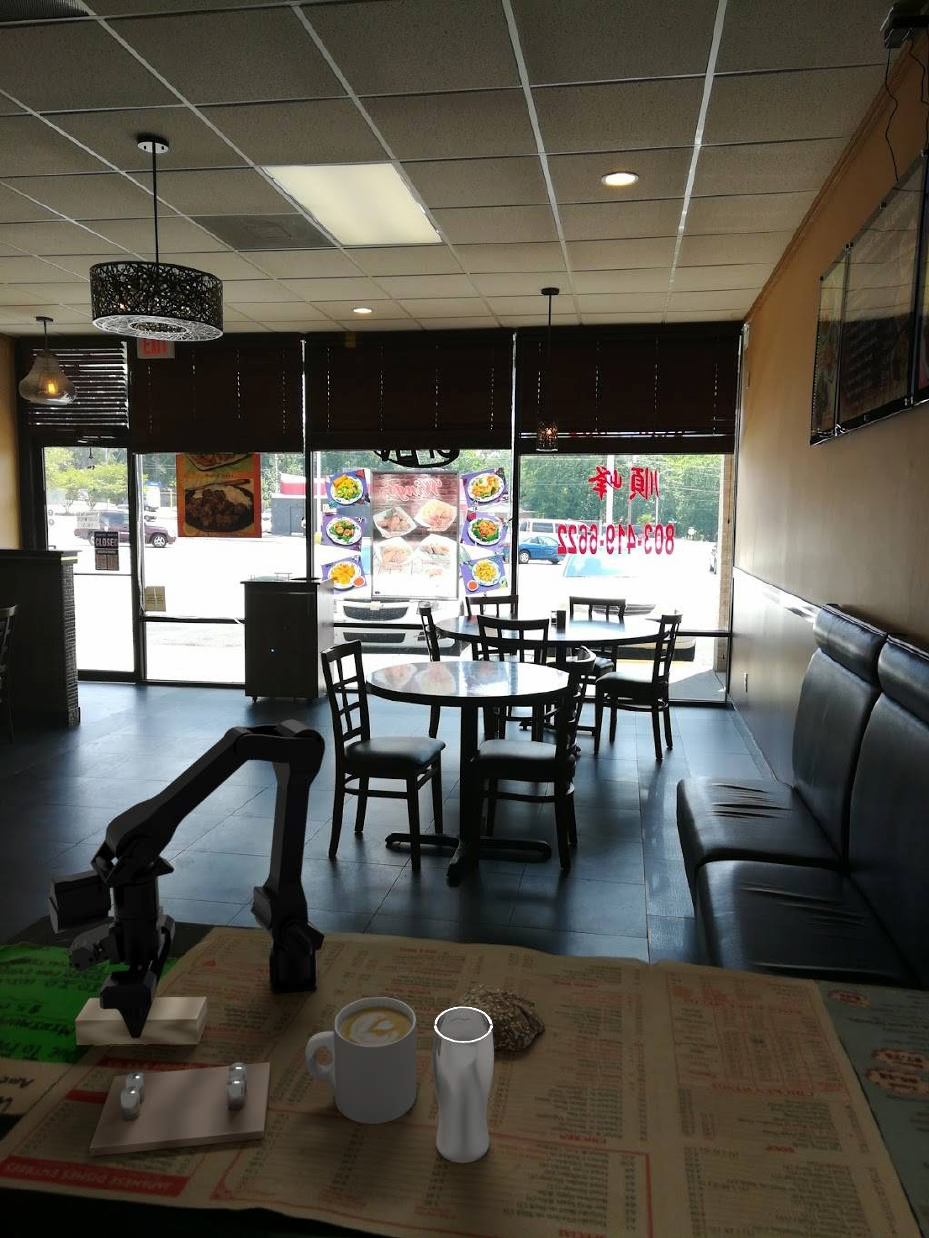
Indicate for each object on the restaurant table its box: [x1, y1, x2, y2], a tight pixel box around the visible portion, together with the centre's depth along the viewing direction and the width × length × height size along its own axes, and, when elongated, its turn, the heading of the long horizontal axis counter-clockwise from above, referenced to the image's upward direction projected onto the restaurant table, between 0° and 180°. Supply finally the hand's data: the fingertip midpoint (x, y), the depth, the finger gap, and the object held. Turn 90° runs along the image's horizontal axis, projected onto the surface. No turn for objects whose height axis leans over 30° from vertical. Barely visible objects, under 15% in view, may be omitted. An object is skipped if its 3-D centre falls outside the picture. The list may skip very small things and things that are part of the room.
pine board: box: [74, 996, 209, 1046], centre depth 120 cm, size 16×5×4 cm, turn 92°
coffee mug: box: [304, 996, 417, 1125], centre depth 109 cm, size 13×10×10 cm
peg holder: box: [89, 1061, 271, 1157], centre depth 106 cm, size 19×12×4 cm, turn 99°
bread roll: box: [454, 984, 546, 1052], centre depth 123 cm, size 13×12×5 cm
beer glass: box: [431, 1007, 495, 1164], centre depth 100 cm, size 7×7×15 cm
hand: (143, 1016), depth 120 cm, fingers open, 9 cm apart
